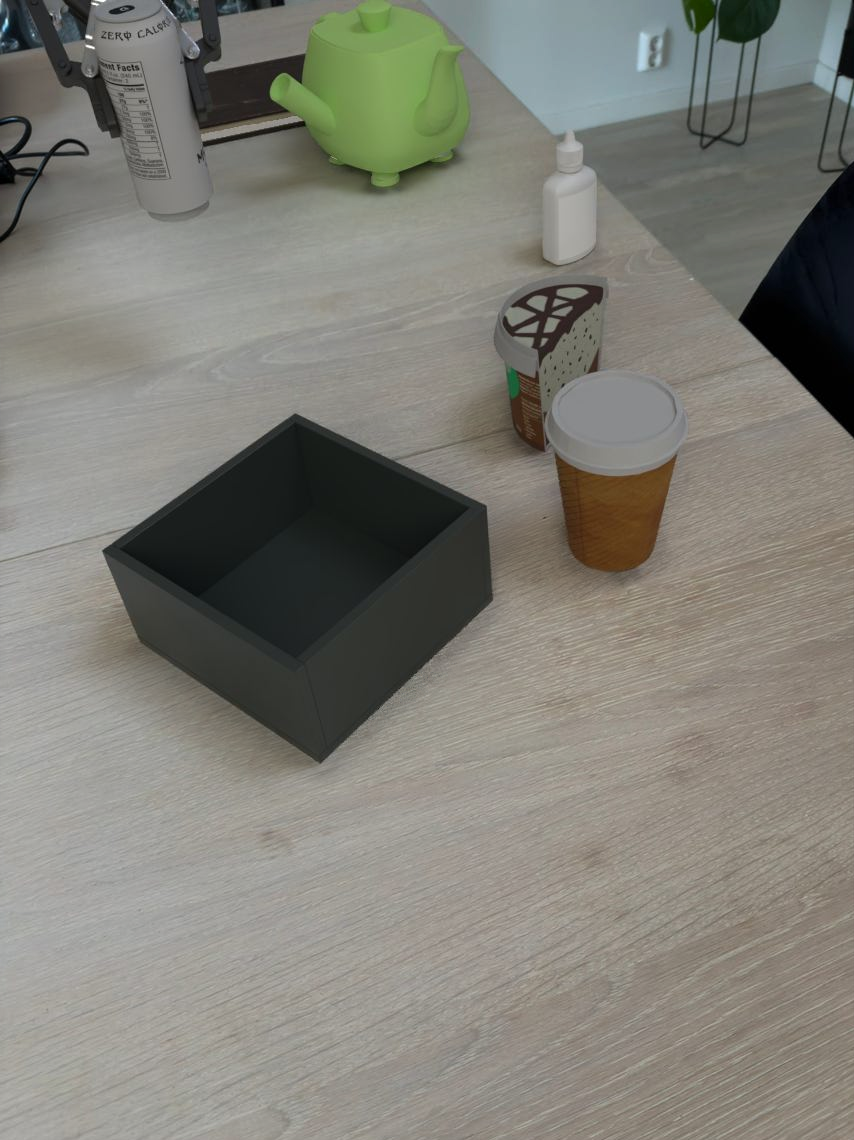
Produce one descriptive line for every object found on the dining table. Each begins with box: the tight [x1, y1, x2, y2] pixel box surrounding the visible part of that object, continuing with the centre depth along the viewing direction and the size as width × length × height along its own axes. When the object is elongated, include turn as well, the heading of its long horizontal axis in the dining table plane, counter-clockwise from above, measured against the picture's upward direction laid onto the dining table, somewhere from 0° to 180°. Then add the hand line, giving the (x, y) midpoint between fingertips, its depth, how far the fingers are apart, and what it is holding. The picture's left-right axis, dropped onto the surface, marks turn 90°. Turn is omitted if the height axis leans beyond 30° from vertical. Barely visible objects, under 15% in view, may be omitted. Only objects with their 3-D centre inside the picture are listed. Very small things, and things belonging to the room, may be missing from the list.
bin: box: [101, 413, 494, 764], centre depth 76 cm, size 18×18×9 cm
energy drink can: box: [92, 0, 214, 223], centre depth 86 cm, size 6×6×15 cm
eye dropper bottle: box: [541, 128, 598, 266], centre depth 106 cm, size 4×6×12 cm
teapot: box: [270, 0, 471, 188], centre depth 119 cm, size 25×22×16 cm
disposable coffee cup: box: [544, 369, 690, 572], centre depth 78 cm, size 10×10×12 cm
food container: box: [493, 273, 610, 453], centre depth 90 cm, size 12×6×10 cm, turn 149°
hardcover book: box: [196, 52, 306, 147], centre depth 138 cm, size 16×23×2 cm
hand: (159, 124), depth 85 cm, fingers closed on energy drink can, 6 cm apart
